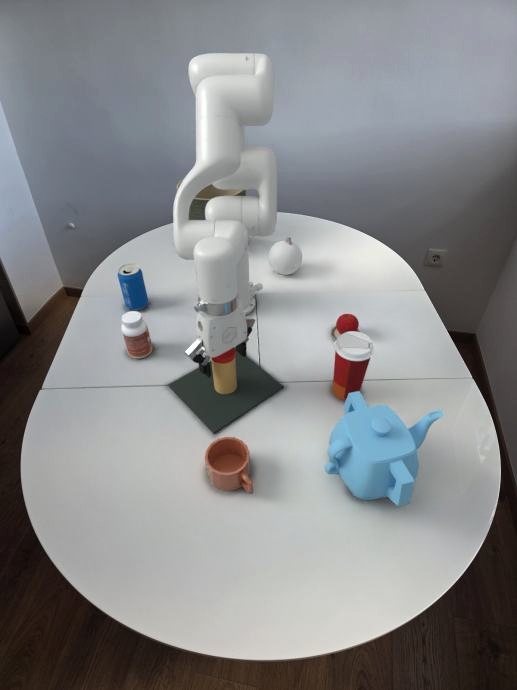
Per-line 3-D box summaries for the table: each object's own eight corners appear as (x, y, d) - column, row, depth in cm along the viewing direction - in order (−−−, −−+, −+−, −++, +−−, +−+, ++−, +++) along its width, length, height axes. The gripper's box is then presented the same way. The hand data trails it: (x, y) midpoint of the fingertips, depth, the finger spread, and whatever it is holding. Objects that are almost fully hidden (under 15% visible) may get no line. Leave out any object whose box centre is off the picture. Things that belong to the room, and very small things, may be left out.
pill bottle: (156, 353, 108) (148, 319, 101) (133, 362, 106) (123, 328, 99) (147, 339, 112) (138, 305, 105) (124, 348, 110) (114, 314, 102)
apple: (325, 339, 112) (328, 319, 108) (336, 322, 117) (339, 303, 113) (355, 349, 109) (359, 329, 105) (364, 331, 114) (368, 311, 110)
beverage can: (121, 308, 122) (111, 272, 114) (134, 296, 127) (125, 260, 119) (140, 314, 121) (131, 277, 113) (153, 301, 125) (145, 265, 117)
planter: (246, 226, 160) (244, 171, 146) (248, 257, 143) (247, 198, 130) (186, 228, 159) (178, 173, 145) (182, 259, 142) (173, 200, 129)
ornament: (306, 269, 137) (309, 234, 129) (290, 284, 131) (292, 249, 123) (278, 260, 142) (279, 226, 134) (262, 274, 135) (262, 240, 127)
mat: (235, 348, 110) (235, 346, 109) (283, 387, 100) (283, 386, 99) (168, 386, 100) (168, 384, 100) (214, 434, 90) (213, 432, 90)
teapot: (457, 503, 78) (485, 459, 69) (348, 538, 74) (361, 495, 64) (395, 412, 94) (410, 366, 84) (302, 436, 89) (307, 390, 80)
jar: (227, 374, 102) (225, 339, 95) (242, 386, 99) (240, 351, 92) (209, 385, 100) (205, 350, 92) (223, 398, 97) (220, 363, 89)
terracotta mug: (199, 469, 84) (196, 453, 80) (232, 446, 88) (231, 429, 84) (234, 511, 77) (233, 495, 74) (268, 484, 81) (269, 468, 78)
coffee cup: (366, 382, 101) (377, 334, 90) (360, 408, 95) (372, 359, 85) (331, 374, 103) (338, 326, 93) (323, 399, 97) (330, 350, 87)
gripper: (192, 328, 77) (201, 392, 89) (264, 292, 85) (264, 354, 97) (170, 309, 81) (181, 372, 93) (241, 276, 90) (243, 337, 101)
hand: (224, 363), depth 95 cm, fingers open, 9 cm apart
